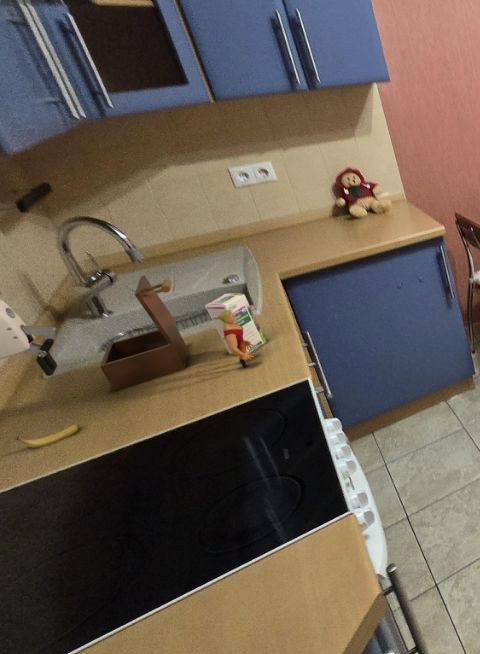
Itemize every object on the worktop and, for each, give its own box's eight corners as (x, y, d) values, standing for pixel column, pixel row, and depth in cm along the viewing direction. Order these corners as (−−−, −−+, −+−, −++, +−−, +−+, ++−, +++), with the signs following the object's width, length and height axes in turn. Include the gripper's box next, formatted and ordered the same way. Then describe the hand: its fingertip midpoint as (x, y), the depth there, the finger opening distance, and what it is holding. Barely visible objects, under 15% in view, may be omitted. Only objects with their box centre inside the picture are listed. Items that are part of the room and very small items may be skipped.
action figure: (259, 371, 123) (233, 315, 117) (241, 377, 121) (213, 321, 115) (258, 353, 130) (234, 300, 124) (241, 359, 129) (215, 305, 122)
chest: (116, 393, 119) (99, 366, 116) (123, 368, 129) (108, 343, 126) (185, 370, 126) (171, 344, 123) (187, 348, 135) (175, 324, 132)
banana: (25, 456, 102) (13, 440, 101) (26, 451, 103) (15, 435, 102) (83, 434, 107) (72, 418, 105) (83, 430, 108) (73, 414, 107)
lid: (134, 294, 116) (163, 285, 119) (140, 276, 125) (167, 268, 128) (168, 343, 122) (195, 334, 125) (172, 323, 132) (197, 314, 134)
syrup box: (249, 356, 130) (225, 304, 123) (229, 355, 131) (203, 304, 124) (267, 343, 135) (245, 292, 128) (247, 343, 136) (224, 292, 129)
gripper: (32, 280, 99) (82, 356, 107) (-108, 313, 90) (-43, 394, 98) (21, 293, 94) (74, 372, 101) (-129, 330, 85) (-59, 414, 92)
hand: (16, 383), depth 99 cm, fingers open, 9 cm apart
